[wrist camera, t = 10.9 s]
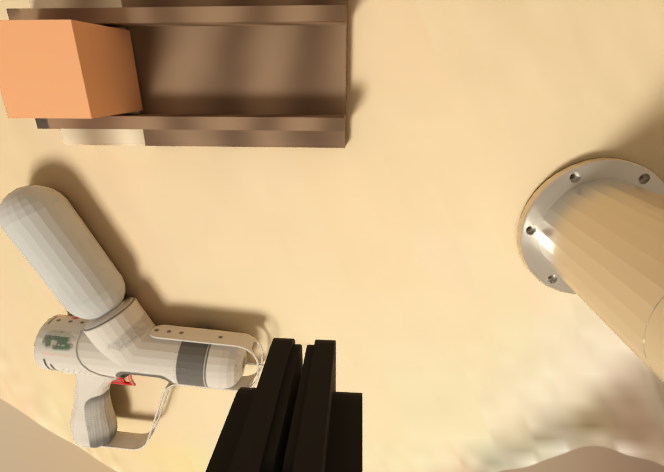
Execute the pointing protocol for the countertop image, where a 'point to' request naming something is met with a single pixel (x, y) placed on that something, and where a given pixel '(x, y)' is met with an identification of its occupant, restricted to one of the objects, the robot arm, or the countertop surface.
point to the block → (66, 70)
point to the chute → (219, 72)
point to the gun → (109, 323)
